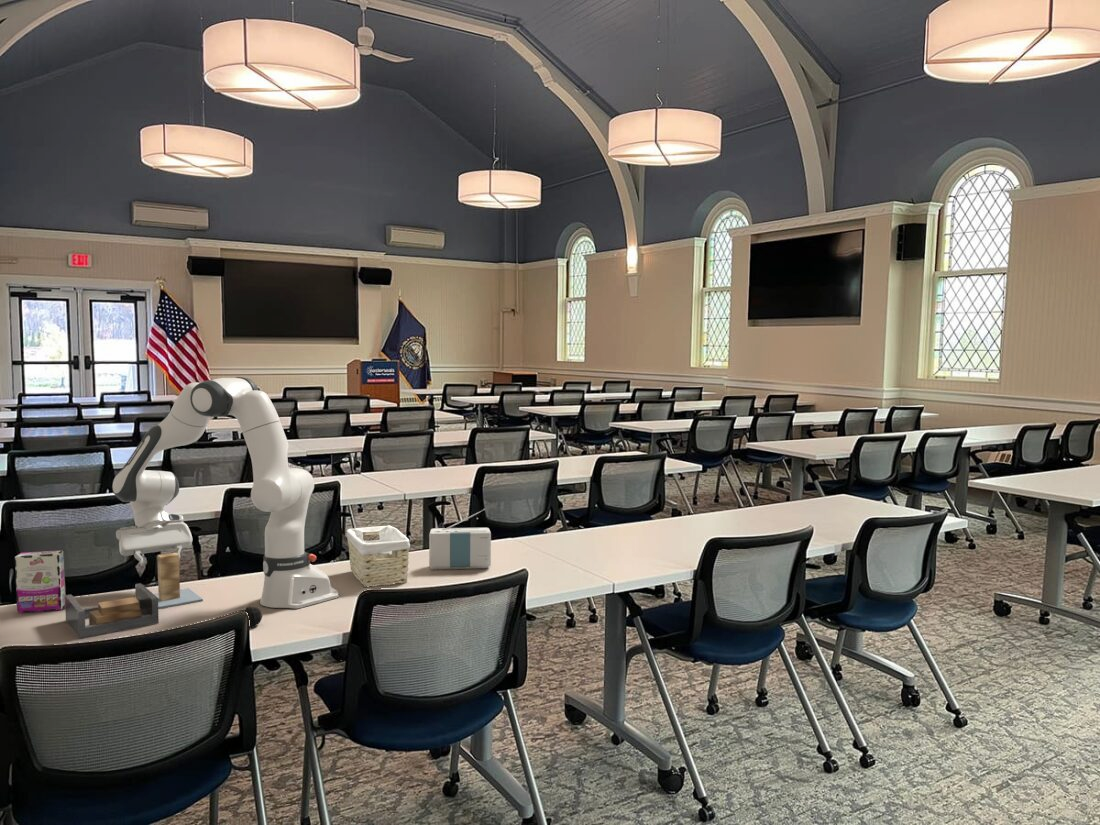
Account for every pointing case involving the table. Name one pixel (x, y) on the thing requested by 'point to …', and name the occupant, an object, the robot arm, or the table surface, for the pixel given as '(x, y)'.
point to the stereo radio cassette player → (459, 547)
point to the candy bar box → (40, 581)
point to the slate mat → (180, 599)
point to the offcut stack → (115, 610)
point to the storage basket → (379, 555)
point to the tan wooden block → (168, 576)
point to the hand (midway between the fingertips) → (161, 561)
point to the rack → (79, 614)
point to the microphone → (254, 615)
